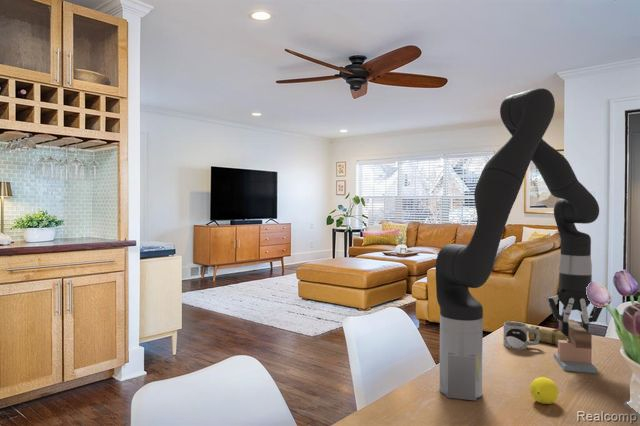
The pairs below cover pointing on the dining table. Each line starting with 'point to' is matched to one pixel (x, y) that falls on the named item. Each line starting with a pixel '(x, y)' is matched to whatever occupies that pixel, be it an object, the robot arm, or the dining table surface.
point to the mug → (518, 335)
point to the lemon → (544, 390)
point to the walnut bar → (578, 335)
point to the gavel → (547, 335)
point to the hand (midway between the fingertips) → (574, 335)
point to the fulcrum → (574, 358)
